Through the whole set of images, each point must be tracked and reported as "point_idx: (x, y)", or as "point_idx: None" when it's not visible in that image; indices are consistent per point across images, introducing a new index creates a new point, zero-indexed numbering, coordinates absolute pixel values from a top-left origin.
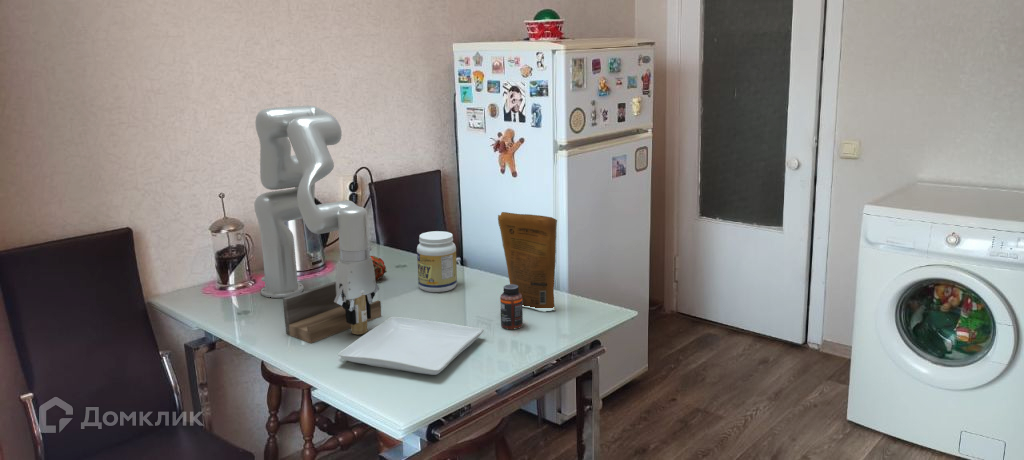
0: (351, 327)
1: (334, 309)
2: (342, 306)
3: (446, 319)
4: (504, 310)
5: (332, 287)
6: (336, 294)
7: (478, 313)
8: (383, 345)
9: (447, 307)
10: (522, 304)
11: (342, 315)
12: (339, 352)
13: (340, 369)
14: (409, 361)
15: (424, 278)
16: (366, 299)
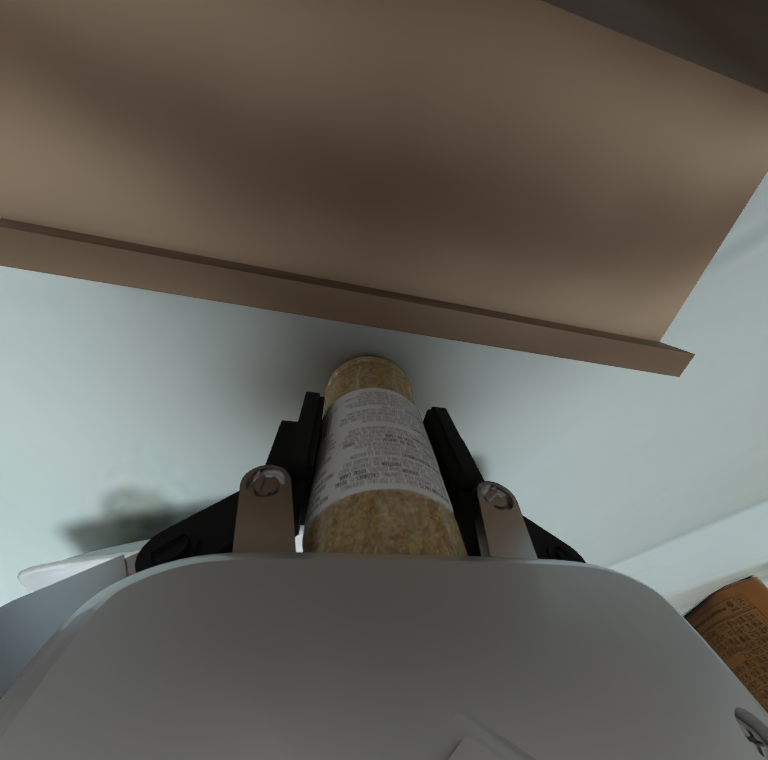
0: (331, 389)
1: (540, 36)
2: (199, 524)
3: (588, 540)
4: None
5: None
6: (44, 652)
7: (645, 571)
8: (298, 544)
9: (703, 492)
10: (698, 620)
11: (354, 321)
12: (35, 571)
13: (60, 542)
14: None
15: None
16: (476, 543)
